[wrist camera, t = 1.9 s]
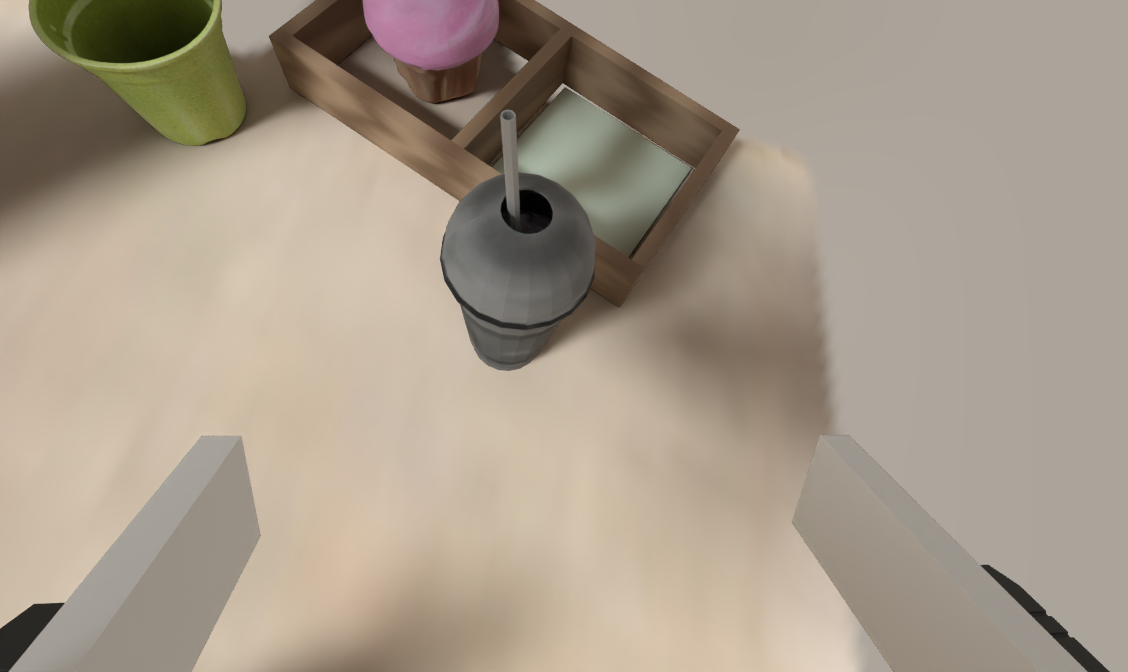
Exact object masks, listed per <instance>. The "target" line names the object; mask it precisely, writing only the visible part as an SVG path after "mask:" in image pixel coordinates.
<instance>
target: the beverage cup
mask: <svg viewBox="0 0 1128 672" xmlns="http://www.w3.org/2000/svg"><path fill="white" fill-rule="evenodd" d="M500 118H501V132H502V145H503V159H504V172H505V174H501V175H498V176H495V177H493V178H491V179H489V180H486V181H484V182H482V183H480V184H478V185H477V186H476V187H475V188H473V189H472V190H471V191H470V192H469V193H468V194H467V195H466V196H464V197H463V198H462V199H461V201H460V202H459V203H458V205H457V207H456V209H455V211H454V212H453V214H452V216H451V218H450V220H449V222H448V225H447V227H446V232H445V234H444V236H443V242H442V249H441V256H440V261H441V266H442V271H443V275H444V280H445V282H446V284H447V286H448V287H449V289H450V290H451V292H452V294H453V295H454V297H455V299H456V300H457V302H458V303H460V305H461V309H462V312H463V316H464V319H465V323H466V326H467V330H468V333H469V337H470V340H471V343H472V345H473V347H474V350H475V351H476V353H477V355H478V356H479V358H480V359H481V360H482V361H483V362H484V363H486V364H487V365H488V366H490V367H493V368H495V369H498V370H506V371H510V370H515V369H520V368H521V367H523V366H525V365H527V364H528V363H529V362H530V361H531V360H532V359H533V358H534V357H535V356H536V355H537V354H538V352H539V351H540V350H541V349H542V347H543V346H544V345H545V343H546V342H547V340H548V339H549V337H550V336H551V334H552V333H553V331H554V330H555V328H556V327H557V325H558V324H559V323H560V321H561V320H563V319H564V318H565V317H566V316H568V315H570V314H572V312H573V311H574V310H575V309H576V308H577V307H578V306H579V305H580V304H581V302H582V301H583V300H584V299H585V298H586V297H587V294H588V292H589V289H590V287H591V284H592V282H593V280H594V277H595V237H594V234H593V231H592V227H591V224H590V221H589V218H588V215H587V213H586V212H585V210H584V209H583V208H582V206H581V205H580V203H579V202H578V201H577V199H576V198H575V197H574V195H573V194H571V193H570V192H569V191H568V190H566V189H565V188H564V187H562V186H561V185H560V184H559V183H557V182H555V181H553V180H550V179H548V178H545V177H543V176H541V175H537V174H529V173H522V172H518V155H517V133H516V114H515V113H514V112H513V111H512V110H505V111H503V112H501V116H500Z"/></svg>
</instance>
